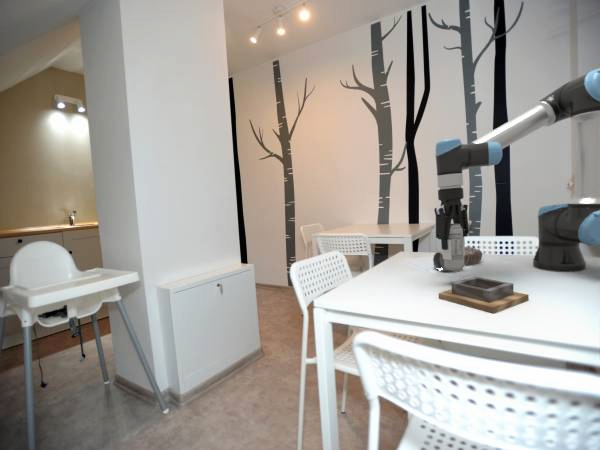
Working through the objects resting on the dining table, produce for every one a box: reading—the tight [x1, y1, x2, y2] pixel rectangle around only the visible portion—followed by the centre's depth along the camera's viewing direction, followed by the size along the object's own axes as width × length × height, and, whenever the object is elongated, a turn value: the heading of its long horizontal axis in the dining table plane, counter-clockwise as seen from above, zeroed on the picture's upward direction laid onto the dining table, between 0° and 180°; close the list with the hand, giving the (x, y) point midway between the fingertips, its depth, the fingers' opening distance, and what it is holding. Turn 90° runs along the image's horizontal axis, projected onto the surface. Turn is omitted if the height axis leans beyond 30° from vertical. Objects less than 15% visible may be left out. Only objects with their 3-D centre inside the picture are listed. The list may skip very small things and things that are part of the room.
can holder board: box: [438, 276, 530, 314], centre depth 91 cm, size 16×16×4 cm
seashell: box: [464, 246, 483, 265], centre depth 136 cm, size 14×9×10 cm
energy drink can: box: [444, 222, 465, 272], centre depth 107 cm, size 6×6×15 cm
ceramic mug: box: [432, 251, 451, 273], centre depth 128 cm, size 11×8×8 cm
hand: (453, 257), depth 108 cm, fingers closed on energy drink can, 6 cm apart
